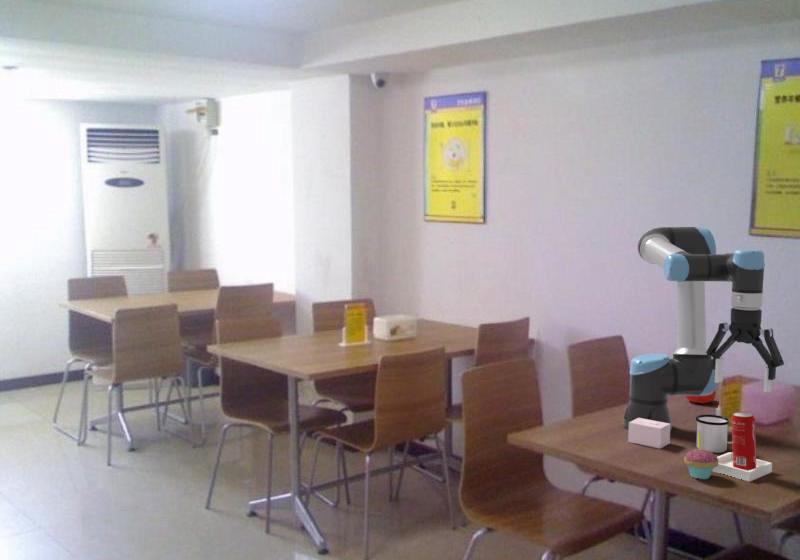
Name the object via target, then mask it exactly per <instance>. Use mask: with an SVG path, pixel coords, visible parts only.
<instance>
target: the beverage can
mask: <svg viewBox="0 0 800 560" xmlns="http://www.w3.org/2000/svg"><path fill="white" fill-rule="evenodd" d="M731 427H732V429H731V442H732V444H731V445H732V447H731V448H732V453H733V467H735V468H739V469H743V470H746V471H749V470H752V469H754V468H756V459H757V452H756V451H757V450H756V449H757V448H756V447H757V446H756V445H757V444H756V442H757V441H756V419H755V417H754V413H752V412H747V411H736V412H733V413H732V417H731Z"/></svg>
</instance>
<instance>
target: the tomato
mask: <svg viewBox="0 0 800 560" xmlns="http://www.w3.org/2000/svg"><path fill="white" fill-rule="evenodd" d="M716 391H717V390H716V389H715V390H714V392H713V393H712V394H710V395H706V396H685V398H686V399H687V400H689V401H690V402H691V403H693V404H697V403H699V404H702V405H704V404H707V403H710V402H713V400H715V397H716V393H717V392H716Z"/></svg>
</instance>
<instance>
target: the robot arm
mask: <svg viewBox="0 0 800 560" xmlns="http://www.w3.org/2000/svg"><path fill="white" fill-rule="evenodd" d="M637 252H638V254H639V257H640V258H642V260H644V262H645V261H646V263H649V264H650V265H651V264H652V265H657V266H658V267H661V268H662V269H663V274H664V277H665V279H666V280H667V281H670V282H676V318H677V319H676V325H677V328H676V329H677V330H676V331H677V347H676V349H675V351H673V353H672V358H670V357H669V355H668V354H665V353H656V352H655V353H645V354H640V355H637V356H635V357H634V358H632V359H631V361H630V369H629V396H628V397H629V401H628V404H627V407H626V410H625V412H624V415H623V417H622V418H623V419H622V426H623V427H624V428H625V429H627V430H629V422H631V421H633V420H635V419H637V418H643V419H648V420H654V421H659V422H664V423H669V424H670V432H671V431H672V430H673V421H672V417H671V413H670V410H669V407H668V397H669V396H680V397H681V396H685V397H686V396H706V395H710V394H712V393H713V392H714V390H715V391H716V388H717V385H718V383H722V382H723V379H724V359H725V358H724V357H722V356H723V355H724V353H726V352H727V351H728V350H729V349H730V347H732V346H733V345H734V344H735V342H737V343H743V344H748V345H750V344H751V345H752V346H753V347H754V348H755V350H756V352H757V353H758V354H759V356H760V357H761V358H762V360H763V361H764V363H765V365H767V366H766V367H765V366H764V376H763V393H769V392H772V390H773V389H772V387H773V386H772V385H773V381H774V380H776V376H777V375H776V373H777V371H776V369H777V367H783V366H784V365H785V363H784V359H783V357H782V355H781V352H780V350H779V347H778V346H777V345H778V344H777V343H776V340H775V337H774V329H772V328H767V329H765V328H763V329H762V326H761V325H762V318H763V317H762V314H763V311H762V310H761V308H762V307H763V291H764V290H763V289H764V278H765V277H764V274H765V266H766V263H765V253H764V251H762V250H761V249H750V248H749V249H747V248H743V249H742V248H741V249H740V248H739V249H736V250H734V252H733V253H732V252H731V253H727V252H726V253H719V254H718V253H717V245H716V240H715V237H714V235H713V233H712V232H711V230H710V229H708V228H706V227H696V226H682V227H681V226H680V227H679V226H678V227H677V226H676V227H674V226H672V227H667V226H663V227H662V226H661V227H656V228H652V229H650V230H648V231H646V232H645V233H643V235H642V236H641V237H640V239H639V240H638V244H637ZM705 282H726V283H727V282H730V283H731V282H732V283H731V303H730V305H731V308H730V324H728V323H727V322H722V323H721V322H720V323H719V324H718V329H717V332H716V333H715V335H714V337H713V339H712V341H711V342H710V344H709V347H708V348H707V329H706V325H707V324H706V323H707V322H706V321H707V320H706V317H707V316H706V283H705ZM727 332H730V336H729V337H727V339H726V340H725V341H724V342H723V343H722V341H723V339H724V337H725V336H726V333H727ZM760 336H762V337H763V338H764V341H765V344H764V343H763V340H762V339H761V337H760ZM721 343H722V344H721ZM765 345H766V346H767V347H766V346H765Z"/></svg>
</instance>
